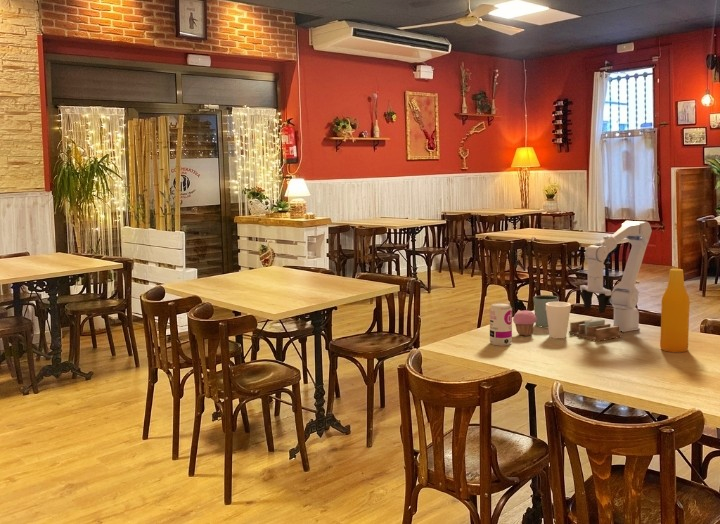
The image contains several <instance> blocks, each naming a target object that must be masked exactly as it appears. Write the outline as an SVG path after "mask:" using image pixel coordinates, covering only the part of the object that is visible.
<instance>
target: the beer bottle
mask: <svg viewBox="0 0 720 524" xmlns="http://www.w3.org/2000/svg"><path fill="white" fill-rule="evenodd" d="M668 274H669V275H668V283H667V286H666V289H665V290H664V292H663V294H662V297H661V309H660V310H661V311H660V312H661V313H660V315H661V317H660V340H659V347H660V349H661V350H662V351H664V352H668V353H685V352H687V351H688V349H689V330H690V329H689V326H690V305H691V303H690V302H691V301H690V296H689V294H688V292H687V289H686V286H685V279H684V278H685V277H684V270H683V268H682V269H681V268H670V270H669V273H668Z"/></svg>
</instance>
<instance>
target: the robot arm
mask: <svg viewBox="0 0 720 524" xmlns="http://www.w3.org/2000/svg"><path fill="white" fill-rule="evenodd" d="M652 232H653V231H652V227H651V223H650V222H648V221H638V220H637V221H636V220H634V221H633V220H625V221H624V222H623V223H621V225H620V228H618V229H617V231H615V232H613V234H612V235H604V236H603V238H602V239H601V240H598V241H597V242H596V243H595V244H594V245H593V244H591V245H588V246H587V247H586V249H585V252H584V255H583V256H584V258H585V261H586V264H587V285H585V284H582V285H579V290H580V291H579V296H580V297H581V299H582V302H583V305H584V306H583V307H584V310H585V311H588V310H591V308H592V298H593V296H594V295H593V294H594V293H595V294H597V295H596V298H597V302H598V312H599V314H605V312H606V308H607V306H608V303H610V304H611V305H612V308H613V324H612V325H613V326H619V332H621V331H622V333H625V332H631V331H637V330H641V328H640V327H639V323H640V313H639V310H638V308H637V305H638V303H639V294H640V291H639V290H638V289H637V287H636V286H635V285H636V282H637V279H638V275H639V272H640V270H641V269H640V268H641V266H642V263H643V259H644V256H645V252H646V250H647V246H648V244H649V241H650V238H651V234H652ZM624 239H626V240H627V242H628V243H629V244H631V249H630V252H629V254H628V258H627V261H626V264H625V268H624V271H623V274H622V278H621V281H620V282H619V283H617V284H615V285H614V286H613V288H612V290H611V289H607V288H605V287H604V261H605V260H606V259H607V257H608V255H609V253H611V252H612V251H614V250H615V249H616V248H617V246H618V243H620V242H621V241H623V240H624ZM613 326H612V327H613Z"/></svg>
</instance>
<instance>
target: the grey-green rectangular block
mask: <svg viewBox="0 0 720 524" xmlns="http://www.w3.org/2000/svg"><path fill="white" fill-rule="evenodd" d="M589 320H590V319H589ZM605 322H606V319H604V318H603V319H602V318H598V319H597V318H596V319H592V320H590V321H585V334H587V327H590V326H596V325H603V324H606V323H605Z"/></svg>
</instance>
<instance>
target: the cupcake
mask: <svg viewBox="0 0 720 524" xmlns="http://www.w3.org/2000/svg"><path fill="white" fill-rule="evenodd" d="M512 322H513V323H514V325H515V330H516V333H517V334H518V335H519V336H521V335H522V336H524V337H525V336H526V337H527V336H531V335H533V333H534V324H536V323H535V322H536V316H535V312H533V311H532V310H528V309H527V310H525V309H524V310H519V311H517V312H516V313H515V314H514V316H513V317H512Z"/></svg>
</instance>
